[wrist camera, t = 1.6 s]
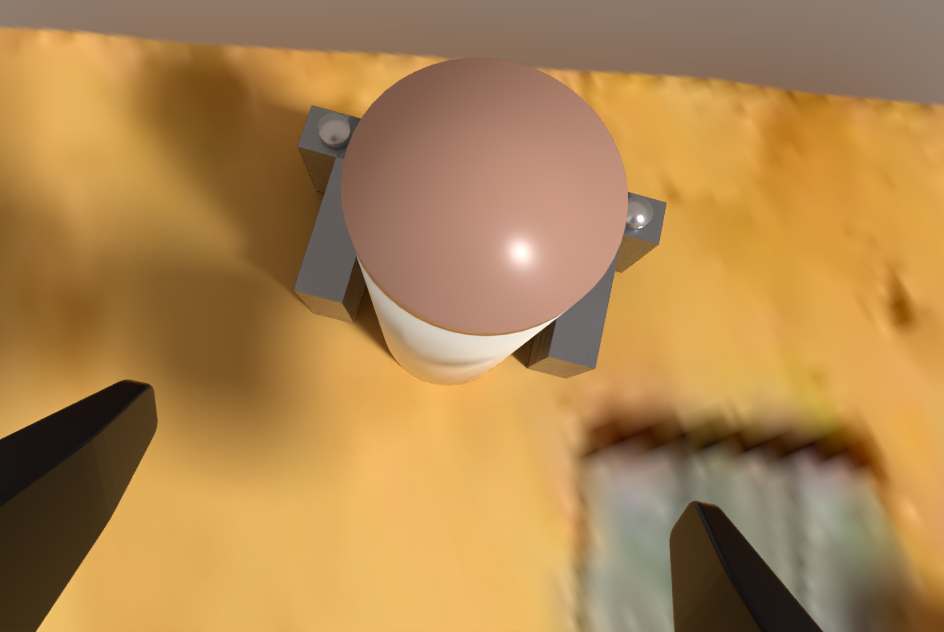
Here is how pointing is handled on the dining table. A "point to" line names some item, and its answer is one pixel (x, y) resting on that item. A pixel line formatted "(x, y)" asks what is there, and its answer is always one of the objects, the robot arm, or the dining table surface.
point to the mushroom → (479, 211)
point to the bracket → (342, 282)
